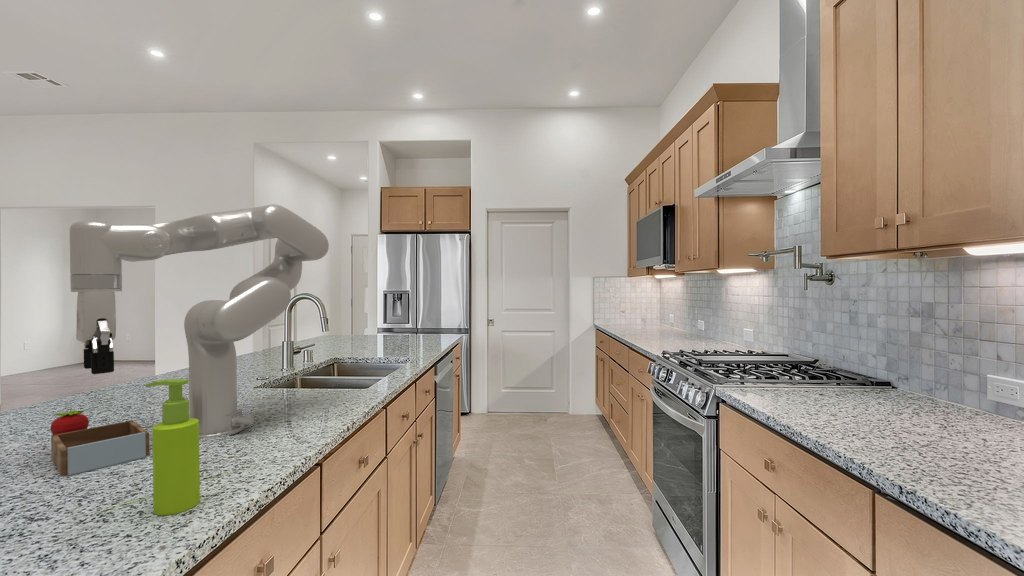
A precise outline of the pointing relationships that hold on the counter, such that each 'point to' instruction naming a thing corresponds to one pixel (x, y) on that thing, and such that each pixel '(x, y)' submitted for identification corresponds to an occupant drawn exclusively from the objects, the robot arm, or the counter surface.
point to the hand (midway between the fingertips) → (98, 370)
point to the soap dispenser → (175, 454)
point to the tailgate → (105, 453)
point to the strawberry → (69, 422)
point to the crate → (90, 440)
